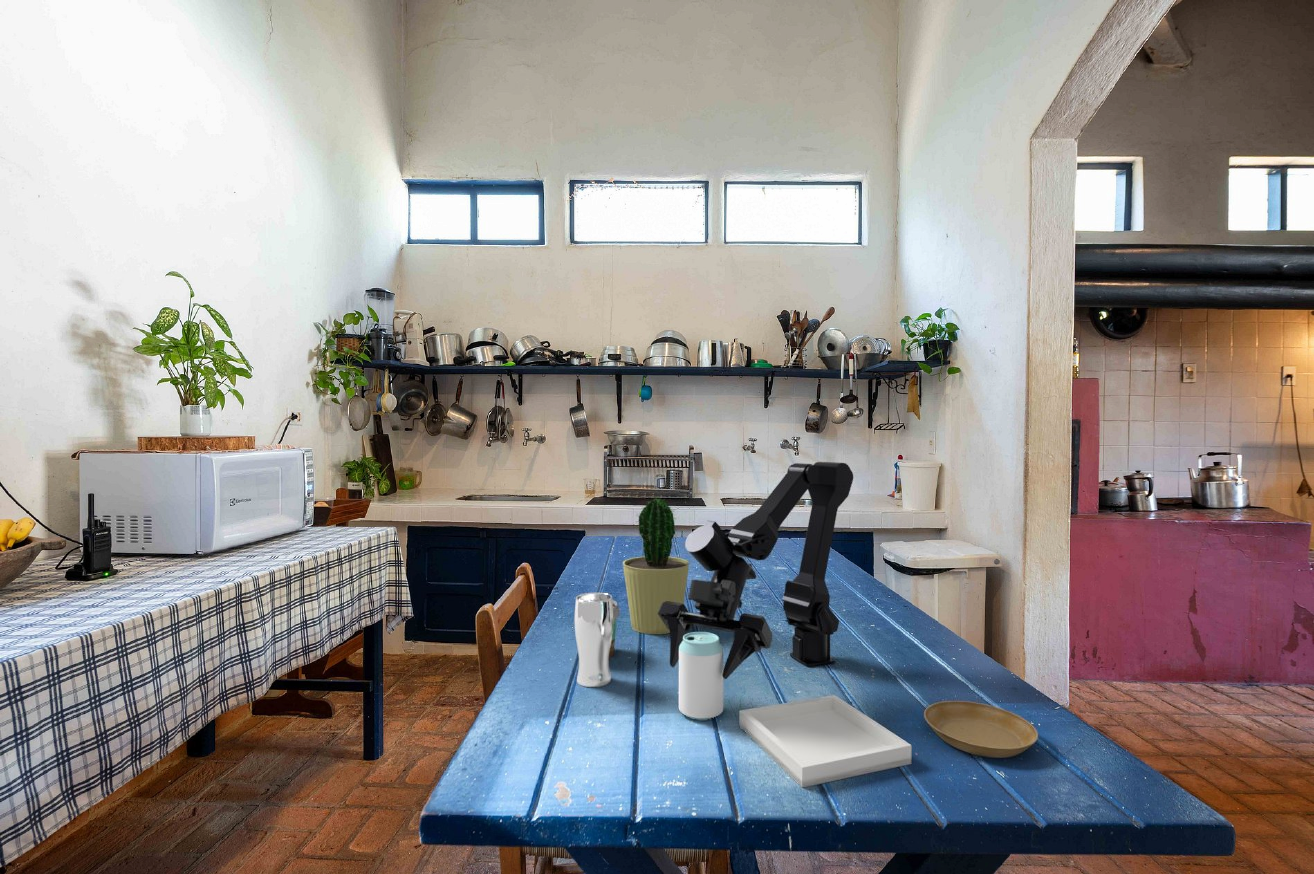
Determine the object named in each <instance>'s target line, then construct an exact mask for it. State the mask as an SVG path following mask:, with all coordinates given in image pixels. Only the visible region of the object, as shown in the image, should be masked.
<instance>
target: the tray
mask: <svg viewBox="0 0 1314 874" xmlns="http://www.w3.org/2000/svg"><path fill="white" fill-rule="evenodd" d="M738 713H739V719H738V720H739V722H738V723H739V724H738V725H739V726H740V727H741V728H742V729H743V730H744V731H746V733H747V734H748V735H749V736H750V737H751V738H752V739H751V738H750V737H749V736H748V735H747V734H746V733H745V734H746V735H747V736H748V737H749V738H750V739H751V740H752V741H753V742H754V743H755V744H756V745H757V746H759V748H760V749H761V750H762V751H763V752H765V753H766V754H767V756H769V757H770V758H771V759H772V760H773V761H774V762H775V763H776V764H777V765H778V766H779V767H780V768H781V769H783V771H784V772H785V773H786V774H788V776H790V777H791V778H792V780H794V781H795V782H796V783H797V784H798V786H800V787H801V788H807V787H811V786H817V785H820V784H826V783H830V782H834V781H838V780H842V779H843V780H844V779H848V778H853V777H857V776H862V775H867V774H871V773H875V772H880V771H885V770H889V769H895V768H897V767H904V766H908V765H912V744H910V743H908V742H907V741H906V740H904V739H903V738H901V737H899V736H898V735H896V734H895V733H894V732H892V731H890V730H889V729H887V728H886V727H884V726H883V725H881V724H880V723H878V722H877V721H876V720H874V719H873V718H871V717H869V716H868V715H866V714H865V713H863V712H862V711H860V710H858V709H857V708H855V707H854V706H852V705H851V704H849V703H848V702H846V701H844V700H843V699H842V698H840V697H838V696H837V695H835V694H833V695H827V696H821V697H820V696H819V697H814V698H809V699H803V700H797V701H796V700H795V701H789V702H784V703H778V704H771V705H765V706H759V707H754V708H747V709H741V710H739V712H738ZM740 727H739V728H740ZM741 728H740V729H741ZM742 729H741V730H742ZM743 730H742V731H743ZM744 731H743V732H744Z"/></svg>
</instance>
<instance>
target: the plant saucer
mask: <svg viewBox="0 0 1314 874" xmlns="http://www.w3.org/2000/svg"><path fill="white" fill-rule="evenodd" d="M923 716H924V719H925V721H926V722H927V724H928V726H929V727H930V728H931V730H933V732H934V733H935V734H936V735H937V737H939V738H941V740H942V741H943V742H945V743H947V744H948V745H950V746H951V747H954V748H956V749H958V750H960V751H962V752H966V753H969V754H972V755H975V756H979V757H986V758H996V759H997V758H998V759H1001V758H1011V757H1015V756H1017V755H1019V754H1022V753H1023V752H1025V751H1026V750H1028V749H1029V748H1031V747H1032V746H1033V745H1034V744H1035V743H1036V742H1037V740H1038V739H1039V733H1038V730H1037V729H1036V728H1035V726H1034V725H1033V724H1032V723H1031V722H1030V721H1028V720H1026V719H1025V718H1023V717H1022V716H1020V715H1018V714H1016V713H1014V712H1012V711H1008V710H1006V709H1004V708H1001V707H998V706H994V705H989V704H986V703H981V702H974V701H968V700H967V701H966V700H945V701H939V702H935V703H932V704H930V705H928V706H927V707H926V708H925V709H924V712H923Z"/></svg>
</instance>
